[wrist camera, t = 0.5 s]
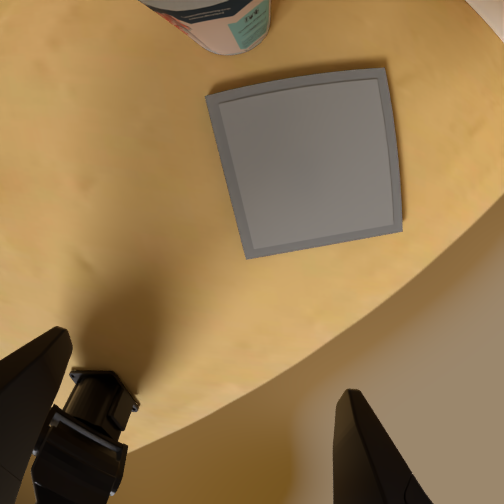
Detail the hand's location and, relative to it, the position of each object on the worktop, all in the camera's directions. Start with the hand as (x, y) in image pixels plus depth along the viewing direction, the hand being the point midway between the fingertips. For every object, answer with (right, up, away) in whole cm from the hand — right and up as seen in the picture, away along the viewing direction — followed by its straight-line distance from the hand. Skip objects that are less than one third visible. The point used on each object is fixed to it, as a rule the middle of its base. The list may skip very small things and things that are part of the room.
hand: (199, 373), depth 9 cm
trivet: (+5, +9, +11) cm, 15 cm away
